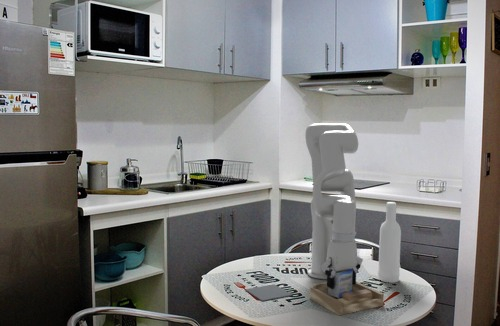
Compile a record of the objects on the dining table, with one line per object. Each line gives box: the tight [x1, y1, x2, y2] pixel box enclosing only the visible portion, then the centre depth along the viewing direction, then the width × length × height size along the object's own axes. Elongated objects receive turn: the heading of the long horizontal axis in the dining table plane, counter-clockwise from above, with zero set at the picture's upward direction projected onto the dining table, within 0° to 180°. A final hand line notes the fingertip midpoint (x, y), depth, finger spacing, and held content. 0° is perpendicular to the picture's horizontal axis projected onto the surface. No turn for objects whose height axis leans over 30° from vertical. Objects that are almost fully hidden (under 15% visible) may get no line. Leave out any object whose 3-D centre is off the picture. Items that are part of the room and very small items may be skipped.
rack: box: [309, 281, 384, 316], centre depth 170 cm, size 18×16×5 cm
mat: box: [245, 283, 293, 302], centre depth 178 cm, size 12×12×1 cm
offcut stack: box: [336, 289, 373, 306], centre depth 166 cm, size 14×4×5 cm, turn 119°
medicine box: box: [328, 269, 353, 299], centre depth 173 cm, size 8×4×9 cm, turn 133°
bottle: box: [377, 201, 402, 283], centre depth 193 cm, size 8×8×30 cm
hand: (341, 285), depth 172 cm, fingers closed on medicine box, 8 cm apart
